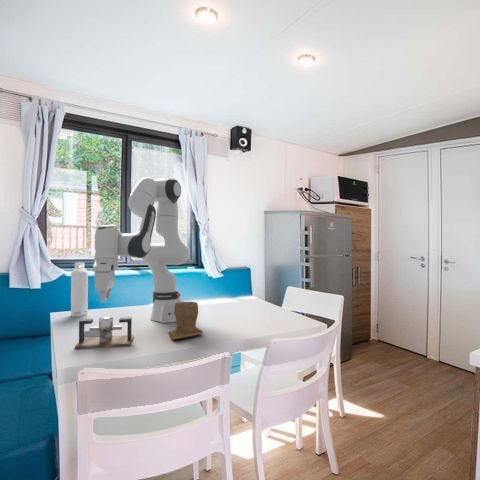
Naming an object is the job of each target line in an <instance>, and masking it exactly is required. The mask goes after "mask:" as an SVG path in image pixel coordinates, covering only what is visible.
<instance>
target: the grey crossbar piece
mask: <svg viewBox="0 0 480 480" xmlns="http://www.w3.org/2000/svg"><path fill="white" fill-rule="evenodd" d="M120 330H123V325H114V317H113V316H101V317H99V318H98V326H89V329H88V331H99V332H110V331H112V332H113V331H120Z"/></svg>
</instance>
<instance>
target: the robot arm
mask: <svg viewBox="0 0 480 480" xmlns="http://www.w3.org/2000/svg"><path fill="white" fill-rule="evenodd" d="M181 193H182V186H181V183H180V182H179V181H178V180H177V179H174V178H158V179H153V178H151V177H148V176H147V177H142V178H141V179H140V180H139V181H138V182H137V184H136V185H135V187H134V188H133V189H132V192H131V193H130V196H129V198H128V201H127V206H128V209H129V210H130V212H131V213H132V214H134V215H136V217H139V218H142V219H141V222H140V225H139V230H138V231H136V232H134V233H123V232H121V231H120V230H119V229H118V226H117V225H115V224H103V225H99V226H98V227H96V229H95V234H94V250H95V251H94V252H95V254H94V259H93V262H94V263H93V266H92V272H93V273H94V277H93V279H94V289H95V292H96V293H99V294H98V295H99V298H100V299H99V300H100V303H106V302H107V299H110V298H111V297H112V296H111V294H112V293H111V292H112V287H114V286H115V283H116V281H115V280H116V276H115V273H116V272H115V271H117V270H119V257H125V258H126V257H127V258H128V257H129V258H135V259H136V258H137V259H142V261H143V262H144V263H145V264H146V265H148V267H149V269H150V271H151V273H152V277H153V292H152V303H153V304H152V310H151V315H150V317H149V318H150V320H151V321H153V322H159V323H163V324H164V323H175V322H176V316H175V312H174V307H175V303H176V302H185V301H184V300H182V299H181V298H180V297H181V293H180V292H179V291H177V289H176V287H177V286H176V279H177V278H176V276H175V275H176V274H174V273H173V272H171V271H170V270H169V269H168V268H167V265H171V266H178V265H183V264H186V263H187V262H188V261H189V258H190V251H189V248H188V247H187V246H186V245H185V244H184V243H183V242H182V240H181V238H180V235H179V229H178V226H179V225H178V224H179V206H178V200H179V198H180V197H181ZM156 202H157V203H158V204H157V209H156V208H155V206H154V205H155V203H156ZM154 227H155V231H156V233H157V234H158V235H160V236H161V237H163V240H164V242H163V243H160V242H159V243H157V242H153V243H152V235H153V231H154ZM176 323H177V322H176Z"/></svg>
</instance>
